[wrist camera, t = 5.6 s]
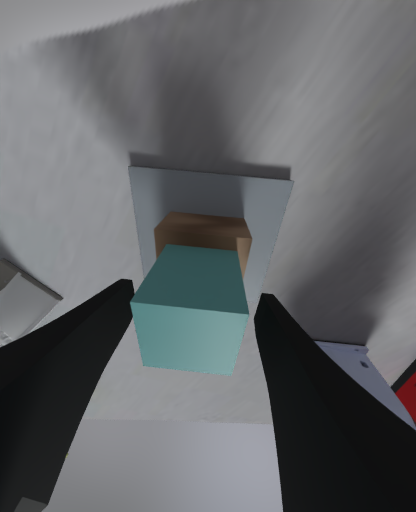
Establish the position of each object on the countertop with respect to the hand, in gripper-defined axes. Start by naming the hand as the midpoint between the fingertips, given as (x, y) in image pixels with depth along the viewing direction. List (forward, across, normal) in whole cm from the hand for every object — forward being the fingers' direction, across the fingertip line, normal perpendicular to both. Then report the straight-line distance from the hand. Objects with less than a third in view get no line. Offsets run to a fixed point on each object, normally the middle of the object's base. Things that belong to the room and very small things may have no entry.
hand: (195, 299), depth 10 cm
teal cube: (+2, 0, 0) cm, 3 cm away
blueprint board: (+7, 0, 0) cm, 7 cm away
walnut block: (+6, 0, 0) cm, 6 cm away
